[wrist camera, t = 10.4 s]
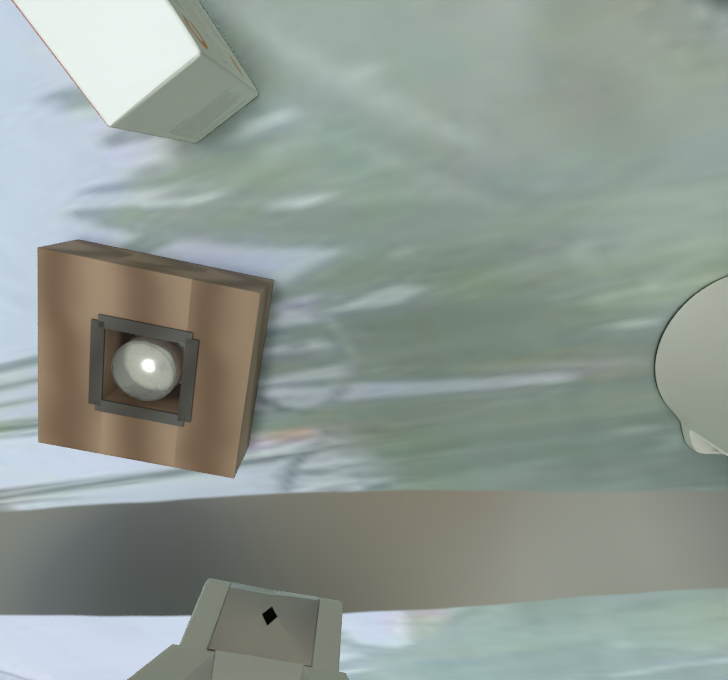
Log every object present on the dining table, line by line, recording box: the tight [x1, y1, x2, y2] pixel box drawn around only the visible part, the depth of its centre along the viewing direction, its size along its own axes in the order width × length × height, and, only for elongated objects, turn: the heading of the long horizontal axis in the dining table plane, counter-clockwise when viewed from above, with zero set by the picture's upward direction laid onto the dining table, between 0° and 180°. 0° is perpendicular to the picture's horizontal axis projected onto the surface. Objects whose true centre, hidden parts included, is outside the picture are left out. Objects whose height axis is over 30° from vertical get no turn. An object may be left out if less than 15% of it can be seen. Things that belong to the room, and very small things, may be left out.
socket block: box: [38, 240, 274, 478], centre depth 39 cm, size 16×16×5 cm
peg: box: [111, 335, 185, 401], centre depth 39 cm, size 5×5×5 cm
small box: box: [12, 0, 259, 143], centre depth 29 cm, size 8×6×13 cm
